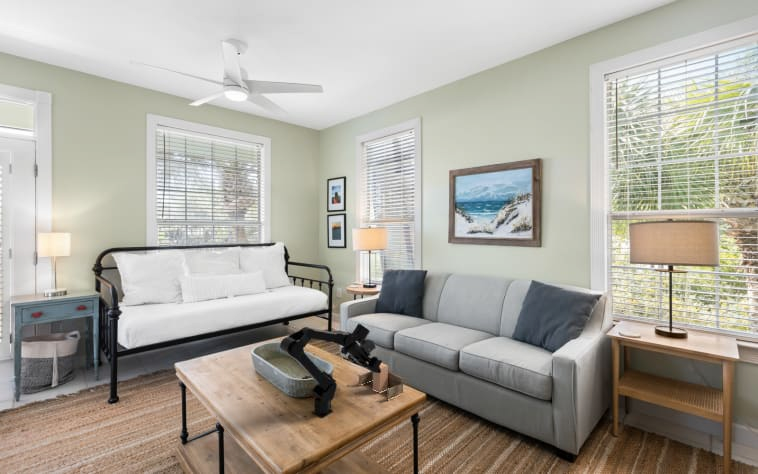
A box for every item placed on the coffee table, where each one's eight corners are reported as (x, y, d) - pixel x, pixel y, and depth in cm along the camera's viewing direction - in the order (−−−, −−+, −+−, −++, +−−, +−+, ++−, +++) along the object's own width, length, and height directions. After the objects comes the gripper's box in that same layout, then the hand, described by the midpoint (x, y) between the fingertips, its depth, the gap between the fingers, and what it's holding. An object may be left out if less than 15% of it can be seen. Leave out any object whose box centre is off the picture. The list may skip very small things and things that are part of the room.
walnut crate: (388, 401, 157) (388, 383, 157) (358, 385, 173) (359, 369, 173) (402, 395, 164) (403, 377, 163) (373, 380, 179) (373, 364, 179)
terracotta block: (379, 393, 165) (380, 368, 164) (372, 390, 168) (373, 364, 168) (387, 390, 168) (387, 365, 168) (380, 387, 172) (380, 362, 172)
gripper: (379, 340, 154) (396, 359, 162) (352, 331, 168) (370, 349, 176) (365, 362, 149) (383, 381, 157) (339, 351, 163) (357, 369, 171)
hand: (373, 369), depth 165 cm, fingers open, 9 cm apart
